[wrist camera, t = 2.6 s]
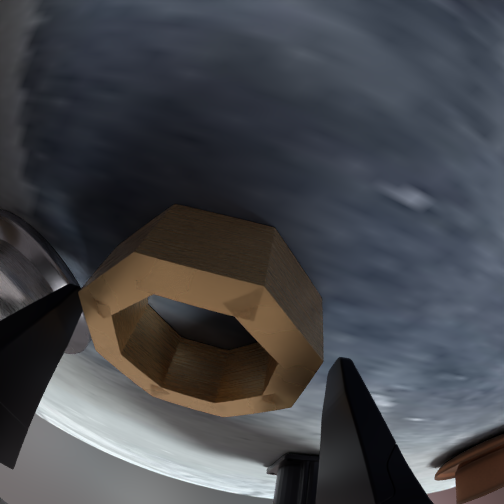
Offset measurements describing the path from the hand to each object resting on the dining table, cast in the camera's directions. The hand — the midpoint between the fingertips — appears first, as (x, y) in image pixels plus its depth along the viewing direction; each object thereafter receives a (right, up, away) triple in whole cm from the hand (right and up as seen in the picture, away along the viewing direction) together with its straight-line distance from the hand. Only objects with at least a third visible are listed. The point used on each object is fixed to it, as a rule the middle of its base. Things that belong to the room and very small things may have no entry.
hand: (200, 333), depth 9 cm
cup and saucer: (+26, -18, +9) cm, 34 cm away
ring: (0, +1, +1) cm, 1 cm away
